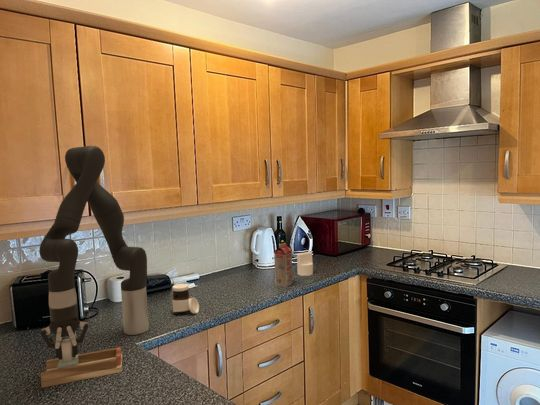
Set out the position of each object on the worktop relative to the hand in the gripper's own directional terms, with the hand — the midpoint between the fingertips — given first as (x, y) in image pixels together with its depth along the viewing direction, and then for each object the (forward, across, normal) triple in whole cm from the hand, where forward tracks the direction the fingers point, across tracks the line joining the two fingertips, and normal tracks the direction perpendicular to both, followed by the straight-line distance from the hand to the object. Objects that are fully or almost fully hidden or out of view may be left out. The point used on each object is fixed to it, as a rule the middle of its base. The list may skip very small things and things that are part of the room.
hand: (67, 357), depth 120 cm
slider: (+4, 0, 0) cm, 4 cm away
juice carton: (+6, -95, -57) cm, 111 cm away
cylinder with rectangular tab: (+6, -114, -72) cm, 135 cm away
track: (+6, -4, 0) cm, 7 cm away
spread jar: (+6, -41, -39) cm, 57 cm away
